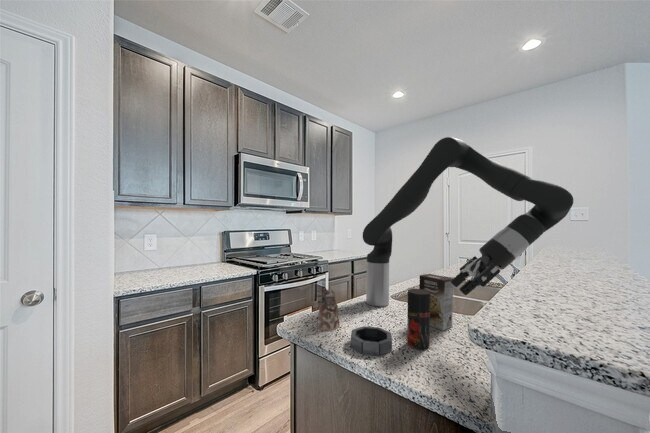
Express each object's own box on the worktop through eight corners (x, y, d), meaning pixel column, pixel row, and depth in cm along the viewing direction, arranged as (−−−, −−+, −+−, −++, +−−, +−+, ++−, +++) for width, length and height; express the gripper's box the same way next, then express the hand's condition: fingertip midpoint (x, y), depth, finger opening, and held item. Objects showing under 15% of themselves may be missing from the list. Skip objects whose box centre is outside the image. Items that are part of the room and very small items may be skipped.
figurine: (322, 332, 87) (323, 293, 87) (313, 324, 93) (314, 288, 93) (343, 328, 90) (343, 291, 90) (332, 320, 96) (333, 285, 96)
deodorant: (434, 348, 77) (434, 293, 77) (415, 351, 75) (415, 295, 75) (420, 339, 82) (421, 288, 82) (403, 341, 81) (403, 289, 81)
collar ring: (352, 335, 84) (353, 325, 84) (390, 338, 82) (390, 328, 82) (349, 352, 74) (349, 341, 74) (392, 357, 72) (392, 345, 72)
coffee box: (417, 322, 95) (418, 275, 95) (428, 318, 99) (428, 272, 100) (443, 331, 88) (444, 280, 88) (453, 326, 92) (454, 277, 92)
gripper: (482, 236, 82) (441, 273, 84) (505, 240, 68) (454, 284, 70) (502, 254, 81) (459, 291, 83) (529, 262, 67) (476, 306, 69)
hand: (457, 288), depth 77 cm, fingers open, 8 cm apart
